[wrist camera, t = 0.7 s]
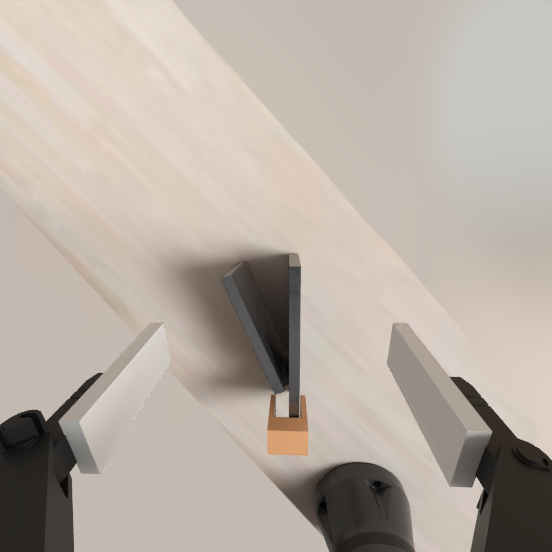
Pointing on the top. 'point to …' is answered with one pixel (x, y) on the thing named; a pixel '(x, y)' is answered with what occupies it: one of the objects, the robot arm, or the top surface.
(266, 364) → the tongs hinged arm
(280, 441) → the orange slotted clip
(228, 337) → the top surface
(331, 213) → the top surface
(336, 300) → the top surface
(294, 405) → the arm
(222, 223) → the top surface
